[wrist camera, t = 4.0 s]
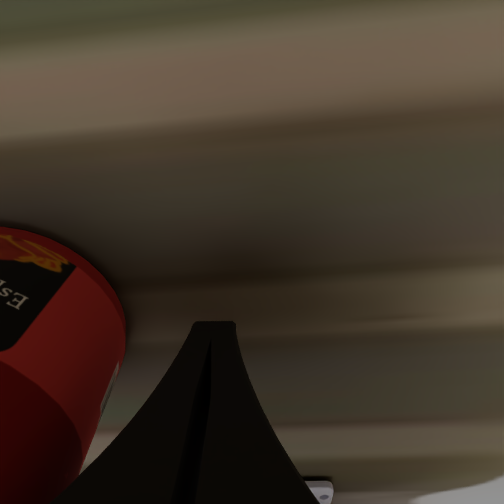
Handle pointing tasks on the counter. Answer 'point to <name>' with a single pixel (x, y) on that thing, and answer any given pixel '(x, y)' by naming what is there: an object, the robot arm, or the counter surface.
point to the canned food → (51, 363)
